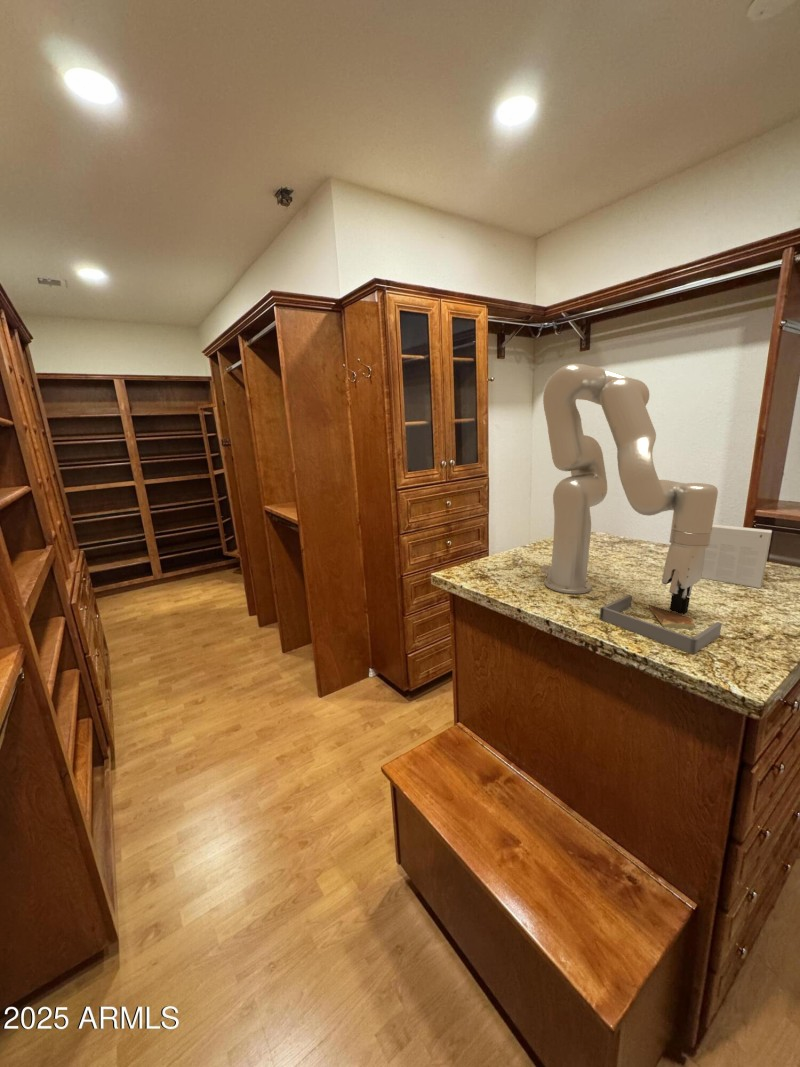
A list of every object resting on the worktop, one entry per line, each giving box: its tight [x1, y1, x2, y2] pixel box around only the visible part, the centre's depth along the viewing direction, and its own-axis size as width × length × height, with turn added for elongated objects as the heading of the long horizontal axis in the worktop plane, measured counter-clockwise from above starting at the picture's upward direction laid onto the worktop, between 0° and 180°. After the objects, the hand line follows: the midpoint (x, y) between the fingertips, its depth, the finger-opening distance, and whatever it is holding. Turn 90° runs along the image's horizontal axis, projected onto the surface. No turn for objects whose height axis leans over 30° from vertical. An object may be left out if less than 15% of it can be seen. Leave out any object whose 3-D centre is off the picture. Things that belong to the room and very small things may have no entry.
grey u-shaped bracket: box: [599, 594, 723, 655], centre depth 92 cm, size 20×13×3 cm, turn 34°
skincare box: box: [701, 523, 773, 589], centre depth 119 cm, size 21×5×16 cm, turn 47°
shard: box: [647, 604, 697, 631], centre depth 96 cm, size 11×8×2 cm
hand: (678, 611), depth 98 cm, fingers closed
